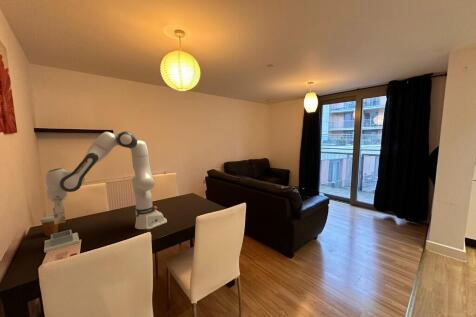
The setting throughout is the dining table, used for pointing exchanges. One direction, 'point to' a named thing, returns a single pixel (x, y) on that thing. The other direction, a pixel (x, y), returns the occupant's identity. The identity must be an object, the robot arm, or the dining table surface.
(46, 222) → the disposable coffee cup
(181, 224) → the dining table surface
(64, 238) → the chute mount
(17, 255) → the dining table surface
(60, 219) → the chute block
